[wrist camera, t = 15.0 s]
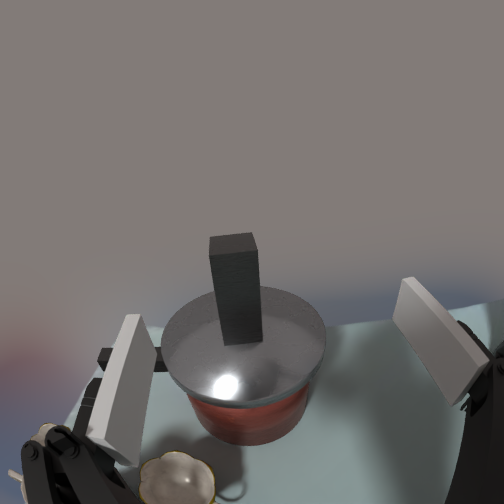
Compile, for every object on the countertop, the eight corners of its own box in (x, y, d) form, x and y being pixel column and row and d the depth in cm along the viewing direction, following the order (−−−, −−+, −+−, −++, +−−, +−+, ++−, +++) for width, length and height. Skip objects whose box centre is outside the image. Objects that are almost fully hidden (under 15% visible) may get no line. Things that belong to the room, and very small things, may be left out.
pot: (293, 350, 43) (296, 291, 37) (321, 435, 28) (337, 385, 22) (138, 364, 40) (113, 309, 35) (121, 447, 26) (77, 400, 20)
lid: (300, 288, 38) (301, 205, 33) (348, 388, 22) (376, 283, 17) (173, 302, 36) (154, 221, 31) (156, 413, 20) (102, 315, 15)
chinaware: (229, 462, 26) (203, 384, 21) (239, 571, 11) (203, 575, 5) (55, 442, 25) (-4, 365, 19) (31, 519, 9) (-58, 452, 3)
